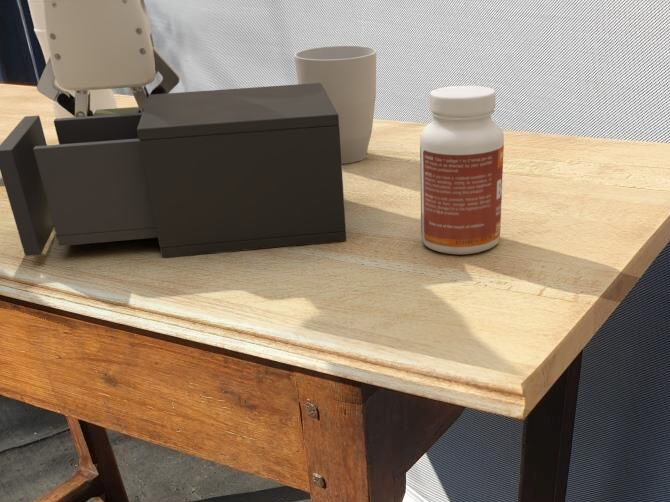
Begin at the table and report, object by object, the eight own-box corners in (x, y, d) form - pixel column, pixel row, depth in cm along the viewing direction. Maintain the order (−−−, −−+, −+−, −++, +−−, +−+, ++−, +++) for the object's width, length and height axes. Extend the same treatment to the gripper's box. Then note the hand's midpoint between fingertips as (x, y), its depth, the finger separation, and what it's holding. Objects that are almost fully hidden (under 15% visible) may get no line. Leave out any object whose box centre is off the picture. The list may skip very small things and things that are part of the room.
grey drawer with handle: (-49, 262, 63) (-85, 157, 59) (-15, 215, 72) (-44, 121, 68) (202, 240, 65) (185, 136, 61) (204, 197, 75) (189, 104, 70)
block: (100, 164, 88) (90, 119, 86) (105, 153, 92) (95, 109, 90) (144, 161, 89) (136, 115, 86) (147, 150, 93) (139, 106, 90)
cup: (394, 152, 88) (392, 48, 83) (350, 172, 83) (344, 61, 77) (333, 144, 92) (326, 44, 86) (287, 162, 87) (277, 56, 81)
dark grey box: (161, 258, 65) (136, 128, 60) (169, 208, 75) (148, 94, 70) (346, 241, 67) (338, 114, 61) (329, 195, 77) (321, 82, 71)
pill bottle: (512, 251, 64) (520, 95, 57) (436, 261, 62) (436, 103, 56) (482, 225, 69) (487, 79, 62) (411, 235, 67) (408, 87, 61)
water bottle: (50, 136, 100) (-14, -118, 86) (105, 125, 104) (52, -120, 90) (76, 145, 96) (13, -121, 81) (132, 133, 99) (82, -123, 85)
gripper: (174, -47, 84) (203, 141, 94) (1, -38, 82) (50, 153, 93) (171, -43, 78) (202, 158, 88) (-17, -33, 76) (38, 171, 86)
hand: (124, 153), depth 90 cm, fingers closed on block, 4 cm apart
